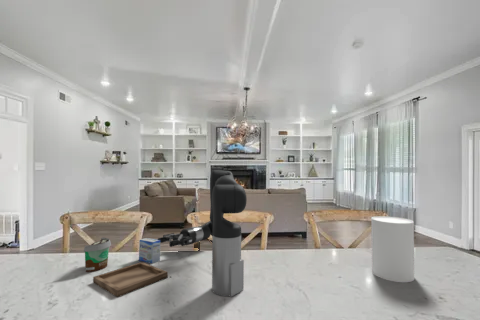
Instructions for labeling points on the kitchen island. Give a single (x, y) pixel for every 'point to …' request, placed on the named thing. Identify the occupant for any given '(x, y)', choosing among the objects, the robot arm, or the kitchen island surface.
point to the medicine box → (149, 250)
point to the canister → (393, 248)
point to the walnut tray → (129, 278)
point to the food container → (97, 255)
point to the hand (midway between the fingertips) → (163, 242)
